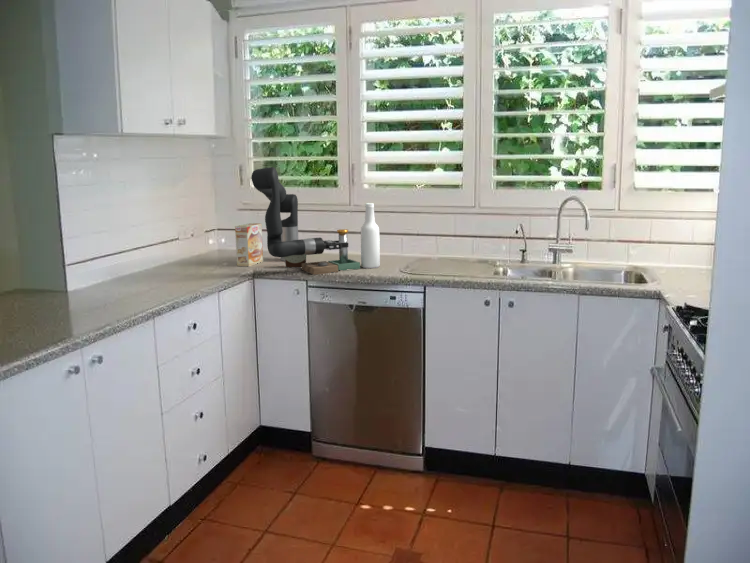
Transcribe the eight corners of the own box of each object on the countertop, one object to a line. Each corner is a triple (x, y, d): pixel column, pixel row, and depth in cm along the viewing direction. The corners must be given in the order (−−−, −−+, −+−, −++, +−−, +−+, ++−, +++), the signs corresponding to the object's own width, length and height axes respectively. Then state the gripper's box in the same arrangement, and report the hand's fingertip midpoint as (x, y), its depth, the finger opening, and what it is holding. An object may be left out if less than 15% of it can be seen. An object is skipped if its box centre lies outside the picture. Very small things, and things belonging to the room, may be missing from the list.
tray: (328, 267, 319) (328, 260, 319) (349, 265, 324) (349, 258, 324) (338, 270, 309) (338, 264, 308) (360, 268, 314) (359, 262, 313)
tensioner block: (301, 269, 313) (301, 260, 313) (325, 267, 319) (325, 258, 318) (313, 274, 300) (313, 265, 300) (338, 272, 306) (337, 263, 305)
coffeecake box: (249, 266, 324) (247, 226, 320) (236, 266, 326) (234, 226, 322) (264, 261, 338) (262, 223, 334) (251, 261, 340) (249, 222, 336)
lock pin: (336, 265, 317) (335, 229, 314) (346, 264, 320) (345, 228, 316) (341, 267, 313) (339, 230, 310) (351, 266, 315) (350, 230, 312)
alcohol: (361, 268, 314) (360, 204, 308) (361, 265, 323) (360, 202, 317) (380, 268, 314) (379, 203, 308) (379, 265, 323) (378, 202, 317)
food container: (310, 265, 324) (310, 245, 322) (308, 267, 318) (307, 247, 316) (285, 265, 325) (284, 245, 324) (282, 267, 319) (281, 247, 318)
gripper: (317, 239, 300) (350, 237, 308) (306, 236, 313) (337, 234, 320) (318, 256, 302) (350, 253, 309) (306, 252, 314) (338, 249, 322)
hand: (344, 243), depth 315 cm, fingers open, 8 cm apart
